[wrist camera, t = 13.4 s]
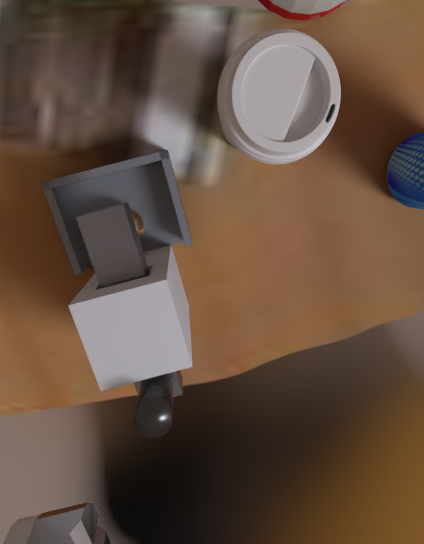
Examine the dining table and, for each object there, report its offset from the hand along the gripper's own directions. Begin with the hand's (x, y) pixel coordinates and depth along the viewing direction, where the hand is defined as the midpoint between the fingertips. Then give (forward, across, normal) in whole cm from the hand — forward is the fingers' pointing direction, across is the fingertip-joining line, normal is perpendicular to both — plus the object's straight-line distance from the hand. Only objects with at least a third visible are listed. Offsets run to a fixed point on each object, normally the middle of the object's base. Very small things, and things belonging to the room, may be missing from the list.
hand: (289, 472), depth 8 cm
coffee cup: (+38, -8, -9) cm, 40 cm away
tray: (+38, +8, -3) cm, 39 cm away
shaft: (+28, +8, +5) cm, 30 cm away
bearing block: (+37, +8, +6) cm, 39 cm away
